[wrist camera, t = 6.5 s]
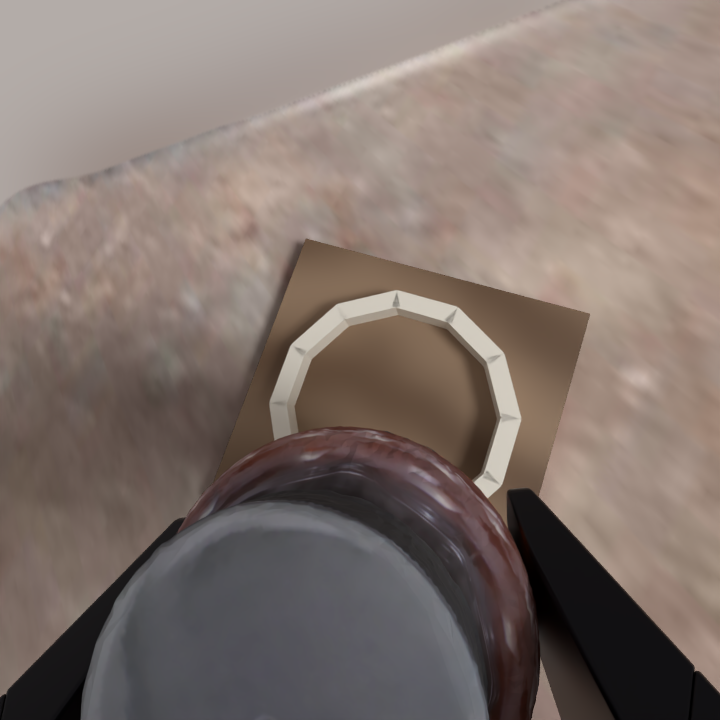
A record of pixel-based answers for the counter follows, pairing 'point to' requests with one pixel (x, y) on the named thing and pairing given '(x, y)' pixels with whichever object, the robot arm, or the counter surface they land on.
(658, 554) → the counter surface
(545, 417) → the board
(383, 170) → the counter surface
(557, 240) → the counter surface
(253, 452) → the supplement bottle
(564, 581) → the robot arm
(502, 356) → the collar
